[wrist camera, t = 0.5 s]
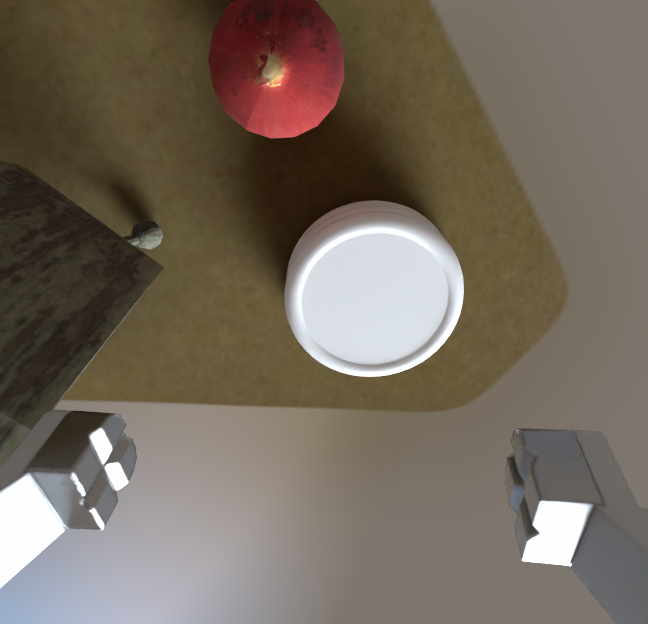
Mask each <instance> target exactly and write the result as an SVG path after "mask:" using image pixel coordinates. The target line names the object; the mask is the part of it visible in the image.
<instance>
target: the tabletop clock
mask: <svg viewBox="0 0 648 624" xmlns="http://www.w3.org/2000/svg"><path fill="white" fill-rule="evenodd" d="M162 237H163V235H162V231H161V228H160V227H159V226H158V225H157V224H156V223H155V222H153V221H146V220H143V221H140V222H139V223H137V224H136V225H135V226H134V227H133V230H132V235H131V236H127V237H123V238H122V237H121V236H119V235H118V234H117V233H115V232H114V231H112V230H111V229H110V228H108V227H107V226H106V225H104V224H103V223H101V222H100V221H99V220H97V219H96V218H94V217H93V216H92V215H90V214H89V213H87V212H86V211H85V210H83V209H82V208H81V207H79V206H78V205H76V204H75V203H74V202H72V201H71V200H69V199H68V198H67V197H65V196H64V195H62V194H61V193H60V192H58V191H57V190H56V189H54V188H53V187H51V186H50V185H49V184H47V183H46V182H44V181H43V180H42V179H40V178H39V177H37V176H36V175H35V174H33V173H32V172H31V171H29V170H28V169H26V168H23V167H21V166H19V165H16V164H11V163H6V162H0V468H1V467H2V465H3V464H4V463H5V462H6V460H7V459H8V458H9V457H10V456H11V454H12V453H13V452H14V451H15V449H16V448H17V447H18V446H19V445H20V443H21V442H22V441H23V440H24V438H25V437H26V436H27V435H28V433H29V432H30V431H31V430H32V429H33V427H34V426H35V425H36V424H37V422H38V421H39V420H40V419H41V418H42V416H43V415H44V414H45V413H47V412H49V411H51V410H53V409H54V408H55V407H56V406H57V404H58V403H59V402H60V401H61V399H62V398H63V397H64V395H65V394H66V393H67V392H68V390H69V389H70V388H71V386H72V385H73V384H74V383H75V381H76V380H77V379H78V377H79V376H80V375H81V374H82V372H83V371H84V370H85V368H86V367H87V366H88V365H89V363H90V362H91V361H92V359H93V358H94V357H95V356H96V354H97V353H98V352H99V350H100V349H101V348H102V347H103V345H104V344H105V343H106V341H107V340H108V339H109V338H110V336H111V335H112V334H113V332H114V331H115V330H116V329H117V327H118V326H119V325H120V323H121V322H122V321H123V320H124V318H125V317H126V316H127V314H128V313H129V312H130V311H131V309H132V308H133V307H134V305H135V304H136V303H137V302H138V300H139V299H140V298H141V296H142V295H143V294H144V293H145V291H146V290H147V289H148V287H149V286H150V285H151V284H152V282H153V281H154V280H155V278H156V277H157V276H158V275H159V273H160V272H161V271H162V269H163V268H164V267H162V266H161V265H160V264H158V263H157V262H156V261H154V260H153V259H151V258H150V257H149V256H147V255H146V254H144V253H143V252H142V251H140V250H139V249H137V248H136V247H135V245H138V246H139V247H140V248H146V249H153V248H154V247H156V246H158V245H159V244H160V242H161V240H162Z"/></svg>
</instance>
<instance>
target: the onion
mask: <svg viewBox="0 0 648 624" xmlns="http://www.w3.org/2000/svg"><path fill="white" fill-rule="evenodd" d="M208 60H209V66H210V71H211V77H212V82H213V88H214V90H215V92H216V94H217V96H218V98H219V100H220V102H221V104H222V106H223V108H224V110H225V112H226V113H227V114H228V115H229V116H230V117H232V118H233V119H234V120H235V121H236V122H238V123H239V124H240V125H241V126H242V127H244V128H245V129H246V130H248V131H251V132H253V133H256V134H259V135H262V136H265V137H268V138H287V137H296V136H298V135H300V134H302V133H304V132H306V131H308V130H310V129H312V128H314V127H316V126H318V125H319V124H320V122H321V121H322V120H323V119H324V118H325V117H326V116H327V114H328V113H329V112H330V111H331V110H332V109H333V108H334V107H335V105H336V102H337V99H338V96H339V93H340V90H341V87H342V84H343V81H344V51H343V48H342V45H341V42H340V38H339V35H338V32H337V29H336V26H335V24H334V22H333V21H332V20H331V19H330V18H329V16H328V15H327V14H326V13H325V12H324V10H323V9H322V8H321V7H320V6H319V4H318V3H317V2H316V1H315V0H235V1H233V2H231V3H230V4H228V6H227V8H226V10H225V11H224V13H223V15H222V16H221V18H220V20H219V22H218V23H217V25H216V27H215V28H214V30H213V35H212V41H211V47H210V52H209V58H208Z"/></svg>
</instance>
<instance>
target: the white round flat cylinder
mask: <svg viewBox="0 0 648 624" xmlns="http://www.w3.org/2000/svg"><path fill="white" fill-rule="evenodd" d="M463 293H464V285H463V275H462V271H461V266H460V264H459V261H458V259H457V256H456V254H455V252H454V251H453V249H452V247H451V246H450V244H449V243H448V242H447V241H446V239H445V238H444V237H443V236H442V234H441V233H440V232H439V231H438V229H437V228H436V227H435V226H434V224H432V223H431V222H430V221H429V220H428V219H427V218H426V217H424V216H423V215H421V214H420V213H418V212H417V211H415V210H413V209H411V208H409V207H407V206H404V205H401V204H398V203H393V202H388V201H376V200H373V201H360V202H354V203H350V204H347V205H344V206H341V207H338V208H336V209H334V210H332V211H330V212H328V213H327V214H325V215H323V216H322V217H320V218H319V219H318V220H317V221H315V222H314V223H313V224H312V225H311V226H310V227H309V228H308V229H307V230H306V231H305V232H304V234H303V235H302V236H301V238H300V239H299V241H298V242H297V244H296V246H295V248H294V250H293V252H292V255H291V258H290V260H289V264H288V269H287V277H286V284H285V294H284V302H285V311H286V315H287V319H288V322H289V324H290V327H291V329H292V331H293V333H294V335H295V336H296V338H297V340H298V342H299V343H300V344H301V345H302V347H303V348H304V349H305V350H306V351H307V352H308V353H309V354H310V355H311V356H312V357H313V358H315V359H316V360H317V361H319V362H320V363H322V364H324V365H325V366H327V367H329V368H331V369H334V370H336V371H339V372H342V373H346V374H350V375H356V376H369V377H370V376H383V375H390V374H394V373H398V372H401V371H404V370H406V369H409V368H411V367H413V366H415V365H417V364H419V363H421V362H422V361H424V360H425V359H427V358H428V357H430V356H431V355H432V354H433V353H434V352H436V351H437V350H438V349H439V348H440V347H441V345H442V344H443V343H444V342H445V341H446V339H447V338H448V337H449V335H450V334H451V332H452V331H453V329H454V327H455V325H456V323H457V321H458V318H459V315H460V312H461V308H462V303H463Z"/></svg>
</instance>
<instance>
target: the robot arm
mask: <svg viewBox="0 0 648 624" xmlns="http://www.w3.org/2000/svg"><path fill="white" fill-rule="evenodd" d="M125 427H126V423H125V422H124V419H123V417H122V415H120V414H114V413H101V412H86V411H66V410H51V411H49V412H47V413H45V414H44V415H43V416H42V418H41V419H40V420H39V421H38V422H37V424H36V425H35V426H34V427H33V429H32V430H31V431H30V432H29V433H28V435H27V436H26V437H25V438H24V440H23V441H22V442H21V443H20V445H19V446H18V447H17V448H16V449H15V451H14V452H13V453H12V454H11V456H10V457H9V458H8V459H7V460H6V462H5V463H4V464H3V465H2V467H1V468H0V588H1V587H2V586H3V585H4V584H5V583H6V582H7V581H9V580H10V579H11V578H12V577H13V576H14V575H15V574H17V573H18V572H19V571H20V570H21V569H22V568H23V567H25V566H26V565H27V564H28V563H29V562H30V561H31V560H32V559H33V558H35V557H36V556H37V555H38V554H39V553H40V552H41V551H43V549H45V548H46V547H47V546H48V545H49V544H50V543H52V542H53V541H54V540H55V539H56V538H57V537H58V536H59V535H61V534H62V533H63V532H64V531H65V529H64V528H74V529H96V530H103V529H104V527H105V525H106V523H107V521H108V519H109V518H110V516H111V514H112V512H113V510H114V508H115V507H116V504H117V503H118V497H117V491H118V490H119V489H121V488H122V487H123V486H124V485H126V484H127V483H128V482H129V480H130V478H131V476H132V474H133V471H134V468H135V463H136V458H137V456H136V447H135V445H134V442H133V440H132V439H131V438H130V437H128V436H127V435H126V434H125V433H123V431H124V429H125ZM511 444H512V448H513V452H514V453H512V454H511V455H510V456H508V457H507V463H506V468H505V485H506V492H507V498H508V502H509V506H510V507H511V508H512V509H513V510H514V511H515V512H516V513H517V517H516V522H515V525H514V528H515V533H516V537H517V541H518V546H519V550H520V554H521V558H522V561H530V562H541V563H550V564H560V565H570V566H571V569H572V570H573V572H574V573H575V574H576V575H577V577H578V578H579V579H580V580H581V581H582V582H583V584H584V585H585V586H586V587H587V588H588V590H589V591H590V592H591V593H592V595H593V596H594V597H595V598H596V600H597V601H598V602H599V603H600V604H601V606H602V607H603V608H604V609H605V610H606V611H607V613H608V614H609V615H610V617H611V618H612V619H613V620H614V621H615V622H616V624H648V509H645V508H639V506H638V504H637V502H636V500H635V498H634V496H633V494H632V492H631V490H630V488H629V486H628V483H627V482H626V479H625V477H624V475H623V473H622V471H621V469H620V467H619V465H618V463H617V461H616V459H615V457H614V455H613V453H612V450H611V448H610V446H609V444H608V442H607V440H606V438H605V436H604V435H603V434H602V433H601V432H600V431H580V430H571V431H569V430H553V429H518V428H516V429H515V431H514V432H513V435H512V439H511Z"/></svg>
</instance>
